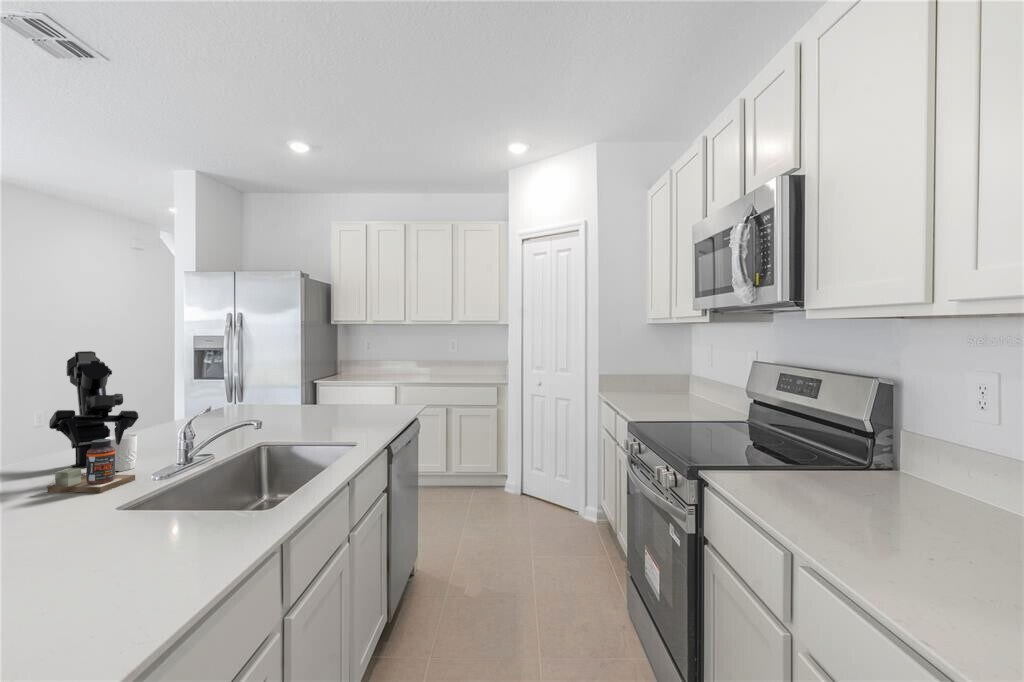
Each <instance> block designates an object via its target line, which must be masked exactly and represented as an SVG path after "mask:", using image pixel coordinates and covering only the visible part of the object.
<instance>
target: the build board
mask: <svg viewBox="0 0 1024 682" xmlns="http://www.w3.org/2000/svg"><path fill="white" fill-rule="evenodd" d="M86 474H87V473H85V474H82V468H72V467H71V468H65V469H62V470H57V471H55V472H54V484H51V485H48V486H47V491H46V492H47V493H59V492H87V493H86V494H103V493H104V492H106V491H109V490H112V488H113V489H115V488H118V487H121V486H123V485H126V484H128V483H131V482H134V481H136V474H115V479H114V480H113V481H111V482H108V483H103V484H88V483H87V477H86V476H87V475H86ZM120 485H121V486H120Z"/></svg>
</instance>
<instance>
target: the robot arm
mask: <svg viewBox="0 0 1024 682" xmlns="http://www.w3.org/2000/svg"><path fill="white" fill-rule="evenodd" d="M112 375H113V370H112V369H110V367H109V366H108V365H106V364H105V361H101V359H100V358H98V357H97V356H96V352H95V351H91V350H89V351H86V350H84V351H83V350H82V351H77V352H74V355H73V356H72V357H70V358H69V359H67V361H66V377H69V383H70V384H72V385H73V386H75V387H76V392H77V393H76V394H77V402H78V403H77V404H78V413H79V414H76V411H75V409H73V410H72V409H67V410H66V409H61V410H60V409H57V410H56V411H54V413H53V415H52V416H51V418H50V419H49V423H48V426H49V429H51V430H55V431H56V432H60V433H62V434H63V435H64V436H65V437H67V439H68V440H69V441H70V444H71V445H70V447H71V449H75V463H74V464H71V465H70V467H71V466H75V467H74V468H78V467H79V468H87V451H88V450H89V449H91V447H92V446H91V445H92V443H91V442H92V441H94V440H98V439H105V438H106V437H110V434H111V429H110V428H109V427H108V424H106V423H114V426H115V427H114V436H115V439H116V444H117V445H119V444H120V441H121V439H122V436H123V434H124V432H125V431H126V430H128V429H129V428H131V427H133V426H134V424H135V423H136V422H137V420H138V419H139V412H138V411H136V410H120V412H119V413H118V414H117V415H116V414H114V415H111V414H110V413H112V412H113V408H115V407H116V406H121V405H122V404H123V403H124V396H123V395H124V394H123V393H114V394H107V389H106V387H107V384H108V379H109V378H110V376H112Z"/></svg>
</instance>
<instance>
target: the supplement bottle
mask: <svg viewBox="0 0 1024 682" xmlns="http://www.w3.org/2000/svg"><path fill="white" fill-rule="evenodd" d="M91 443H92V445H91V446H92V447H91V449H89V450H88V451H87V467H86V473H85V474H86V475H87V476H86V477H87V483H88V484H103V483H108V482H111V481H113V480H114V479H115V475H116V472H115V448H114V447H112V446H111V445H110V444H111V439H98V440H94V441H92V442H91Z"/></svg>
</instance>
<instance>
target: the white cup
mask: <svg viewBox="0 0 1024 682" xmlns="http://www.w3.org/2000/svg"><path fill="white" fill-rule="evenodd" d="M138 436H139V435H138V434H135V433H125V434H124V433H123V436H122V439H121V441H120V444H119V445H117V444H116V439H115V435H111V436H110V437H106V438H105V439H111V444H110V445H111V446H112V447H114V448H115V471H119V472H124V471H125V470H126V471H129V470H132V469H135V468H136V467H137V455H138V454H137V453H138Z"/></svg>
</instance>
